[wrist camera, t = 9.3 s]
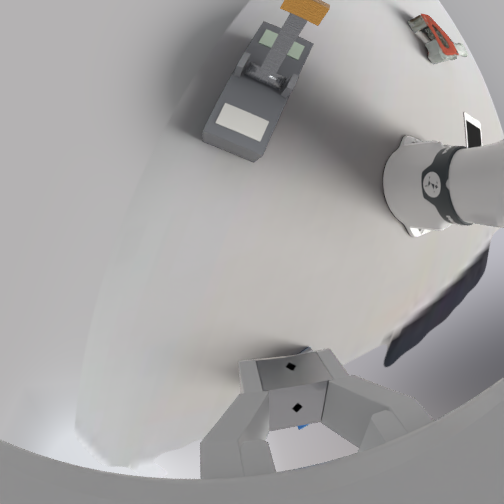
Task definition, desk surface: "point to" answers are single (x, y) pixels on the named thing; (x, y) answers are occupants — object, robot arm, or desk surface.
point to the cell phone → (472, 131)
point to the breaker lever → (287, 39)
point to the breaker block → (254, 98)
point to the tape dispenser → (437, 40)
